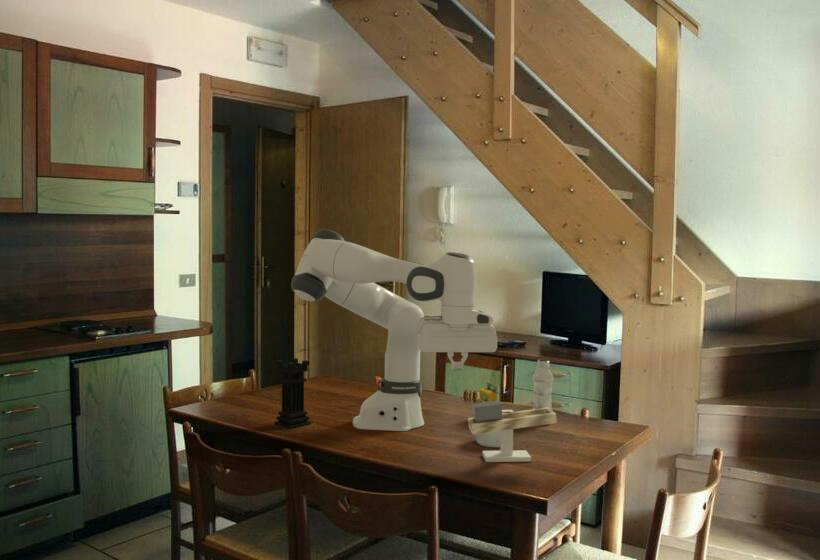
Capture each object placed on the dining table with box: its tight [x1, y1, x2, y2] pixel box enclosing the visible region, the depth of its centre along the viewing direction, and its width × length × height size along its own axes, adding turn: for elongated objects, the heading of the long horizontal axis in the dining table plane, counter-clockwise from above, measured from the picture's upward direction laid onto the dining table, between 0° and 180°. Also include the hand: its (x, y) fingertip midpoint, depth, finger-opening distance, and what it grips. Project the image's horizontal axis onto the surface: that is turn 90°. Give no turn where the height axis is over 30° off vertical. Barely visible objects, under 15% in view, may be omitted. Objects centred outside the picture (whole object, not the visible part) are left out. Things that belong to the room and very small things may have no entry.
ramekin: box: [474, 431, 501, 448], centre depth 216 cm, size 11×11×5 cm
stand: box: [482, 409, 532, 463], centre depth 202 cm, size 12×6×13 cm, turn 94°
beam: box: [467, 407, 558, 435], centre depth 196 cm, size 22×7×3 cm, turn 94°
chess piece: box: [274, 357, 312, 430], centre depth 233 cm, size 8×8×20 cm
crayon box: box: [479, 382, 498, 403], centre depth 241 cm, size 7×3×12 cm, turn 20°
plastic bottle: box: [532, 359, 554, 410], centre depth 239 cm, size 6×7×20 cm
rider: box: [471, 400, 503, 423], centre depth 195 cm, size 7×4×5 cm, turn 94°
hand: (457, 369), depth 194 cm, fingers closed
